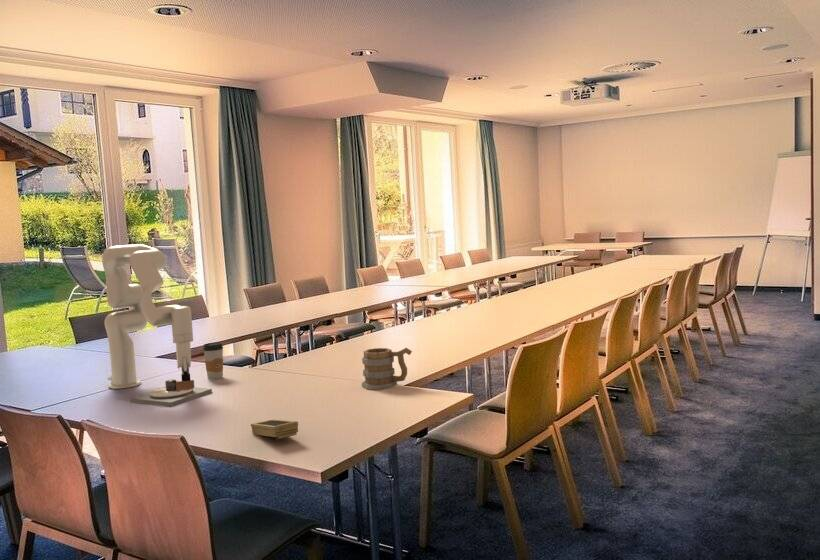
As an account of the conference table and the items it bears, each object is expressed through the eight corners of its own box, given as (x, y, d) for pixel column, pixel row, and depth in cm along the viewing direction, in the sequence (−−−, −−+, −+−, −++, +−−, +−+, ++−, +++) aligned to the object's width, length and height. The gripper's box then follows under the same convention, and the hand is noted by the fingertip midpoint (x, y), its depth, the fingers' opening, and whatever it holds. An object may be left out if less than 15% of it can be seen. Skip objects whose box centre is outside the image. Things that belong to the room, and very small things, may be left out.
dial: (145, 399, 258) (144, 387, 258) (154, 389, 274) (153, 378, 274) (191, 395, 261) (190, 383, 260) (197, 386, 277) (196, 374, 276)
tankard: (358, 389, 265) (355, 350, 263) (370, 381, 277) (368, 344, 275) (407, 391, 258) (405, 351, 257) (417, 383, 270) (416, 345, 269)
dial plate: (131, 402, 263) (130, 397, 263) (173, 389, 282) (172, 384, 282) (171, 406, 253) (170, 401, 253) (211, 392, 272) (211, 388, 272)
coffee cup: (210, 381, 292) (207, 346, 291) (202, 378, 299) (199, 344, 297) (228, 377, 298) (226, 343, 296) (220, 375, 304) (217, 341, 303)
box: (276, 443, 199) (274, 426, 199) (246, 439, 217) (244, 423, 217) (302, 437, 203) (300, 421, 204) (270, 434, 222) (268, 418, 222)
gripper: (172, 336, 275) (176, 381, 276) (172, 341, 261) (176, 389, 262) (192, 334, 277) (195, 379, 279) (193, 340, 263) (197, 387, 265)
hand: (186, 384), depth 270 cm, fingers closed
